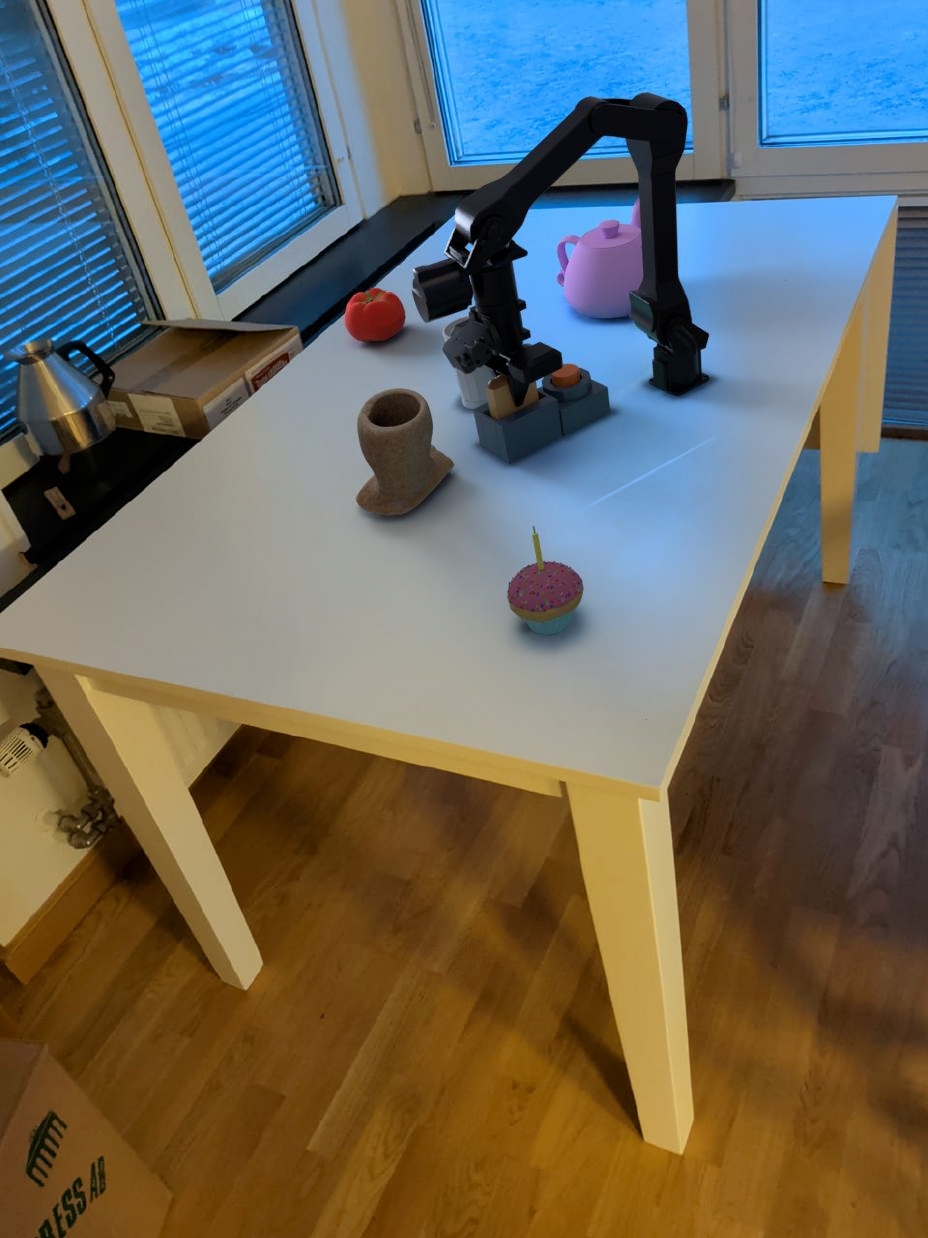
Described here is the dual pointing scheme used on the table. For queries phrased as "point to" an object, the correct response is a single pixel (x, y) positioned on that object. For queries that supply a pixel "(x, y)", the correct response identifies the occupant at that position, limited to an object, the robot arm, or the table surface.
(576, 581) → the cupcake
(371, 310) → the tomato
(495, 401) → the tan slab
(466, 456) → the table surface
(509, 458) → the toaster
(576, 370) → the button
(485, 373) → the cup
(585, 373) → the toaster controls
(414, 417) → the stone cup
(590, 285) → the teapot
